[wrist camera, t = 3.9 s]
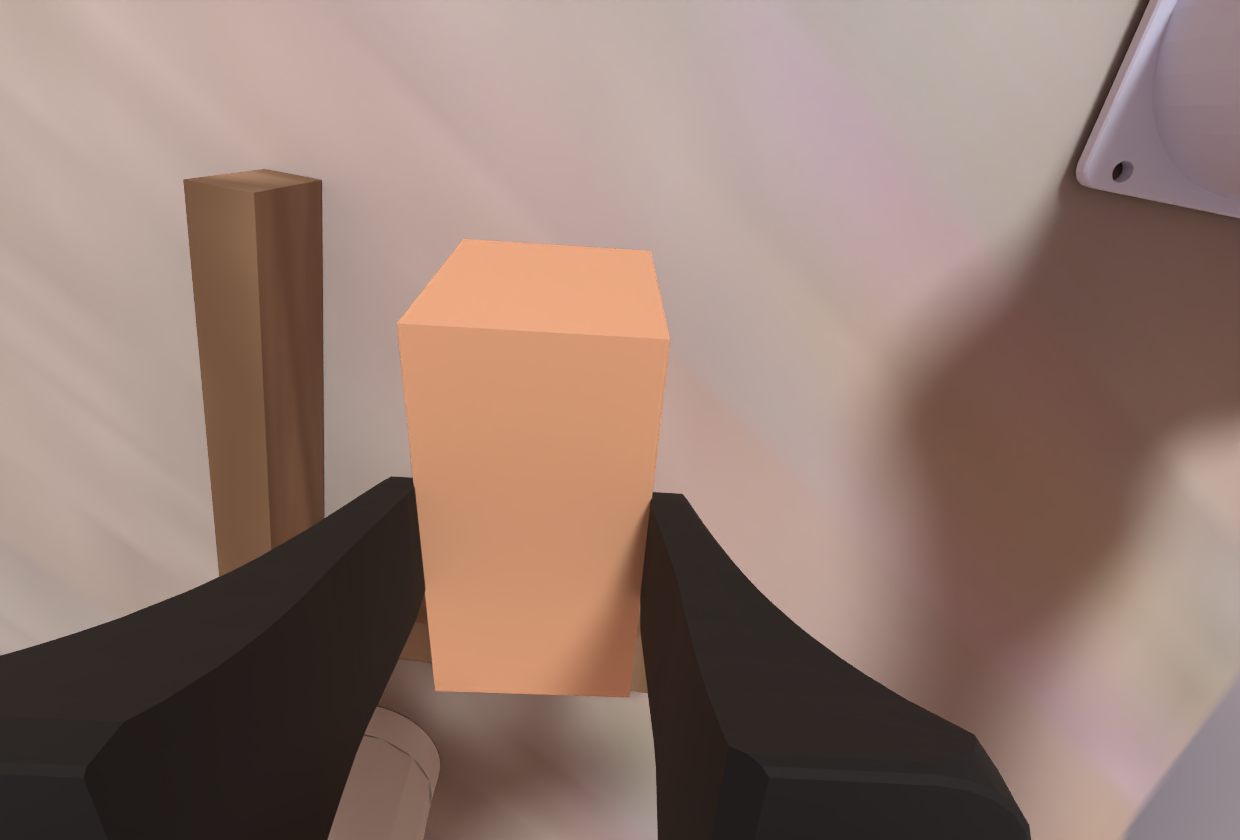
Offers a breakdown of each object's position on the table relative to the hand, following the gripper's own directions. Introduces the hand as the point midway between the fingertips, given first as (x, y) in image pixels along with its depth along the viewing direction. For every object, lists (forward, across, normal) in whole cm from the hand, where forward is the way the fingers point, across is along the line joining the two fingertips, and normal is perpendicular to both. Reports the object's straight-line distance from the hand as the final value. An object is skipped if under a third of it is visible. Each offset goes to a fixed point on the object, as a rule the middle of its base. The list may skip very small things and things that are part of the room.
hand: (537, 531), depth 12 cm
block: (+4, 0, 0) cm, 5 cm away
